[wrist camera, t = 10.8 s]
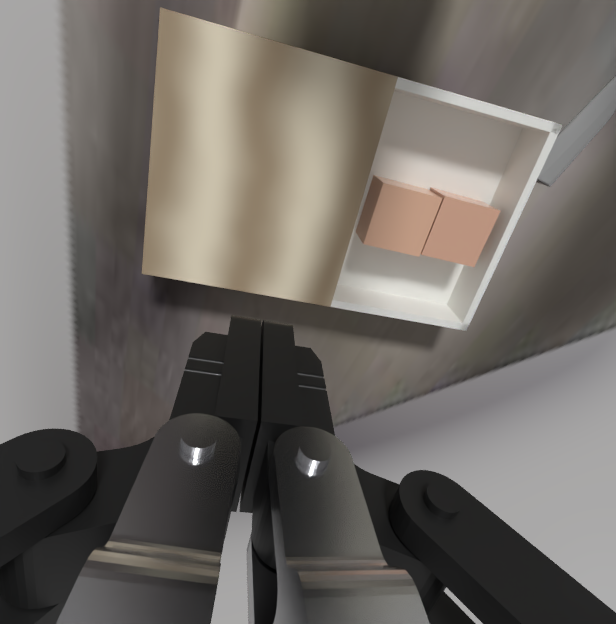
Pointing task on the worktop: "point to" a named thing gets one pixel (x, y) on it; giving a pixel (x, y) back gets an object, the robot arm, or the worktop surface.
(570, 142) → the chef's knife
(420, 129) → the tray
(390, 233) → the tile
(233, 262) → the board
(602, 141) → the worktop surface
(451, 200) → the tile
